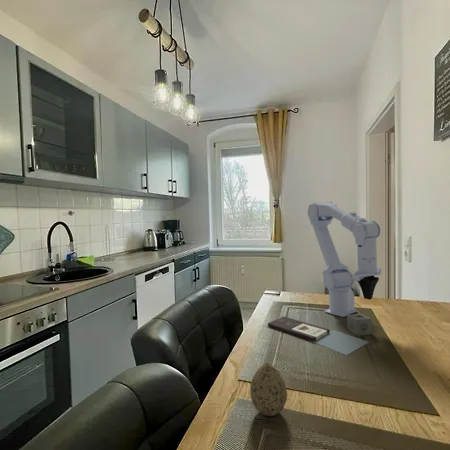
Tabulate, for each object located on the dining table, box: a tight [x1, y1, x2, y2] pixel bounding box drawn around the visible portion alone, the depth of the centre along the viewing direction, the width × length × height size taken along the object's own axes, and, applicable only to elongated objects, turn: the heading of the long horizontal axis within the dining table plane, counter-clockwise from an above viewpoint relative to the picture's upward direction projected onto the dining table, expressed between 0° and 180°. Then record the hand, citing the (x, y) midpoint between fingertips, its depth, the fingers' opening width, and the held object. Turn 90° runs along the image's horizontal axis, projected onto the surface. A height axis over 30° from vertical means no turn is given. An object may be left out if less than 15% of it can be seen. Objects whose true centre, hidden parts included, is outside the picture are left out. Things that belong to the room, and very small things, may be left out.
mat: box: [309, 329, 370, 356], centre depth 87 cm, size 12×12×1 cm
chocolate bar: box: [267, 316, 330, 342], centre depth 97 cm, size 9×1×18 cm
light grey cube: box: [346, 312, 372, 337], centre depth 94 cm, size 5×5×5 cm
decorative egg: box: [249, 362, 288, 417], centre depth 58 cm, size 7×7×10 cm
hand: (367, 298), depth 97 cm, fingers closed
